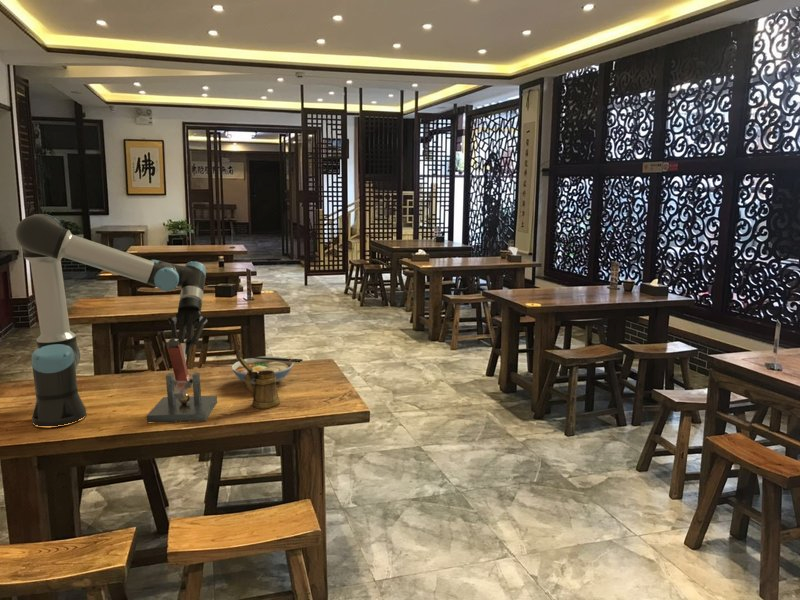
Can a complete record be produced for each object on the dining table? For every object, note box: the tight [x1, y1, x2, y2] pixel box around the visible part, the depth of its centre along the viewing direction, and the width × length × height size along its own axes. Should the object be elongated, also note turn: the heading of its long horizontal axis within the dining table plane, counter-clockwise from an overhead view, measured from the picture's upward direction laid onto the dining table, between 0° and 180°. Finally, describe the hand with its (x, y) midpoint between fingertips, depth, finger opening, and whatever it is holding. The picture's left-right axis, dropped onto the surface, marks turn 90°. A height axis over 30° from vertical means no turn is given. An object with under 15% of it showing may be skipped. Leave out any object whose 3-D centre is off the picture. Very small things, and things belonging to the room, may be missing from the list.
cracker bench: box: [146, 371, 218, 423], centre depth 201 cm, size 18×17×12 cm
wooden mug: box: [236, 355, 281, 410], centre depth 207 cm, size 9×14×18 cm, turn 105°
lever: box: [167, 337, 193, 399], centre depth 195 cm, size 6×8×20 cm
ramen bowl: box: [231, 355, 303, 386], centre depth 230 cm, size 25×23×8 cm
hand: (181, 362), depth 200 cm, fingers closed
